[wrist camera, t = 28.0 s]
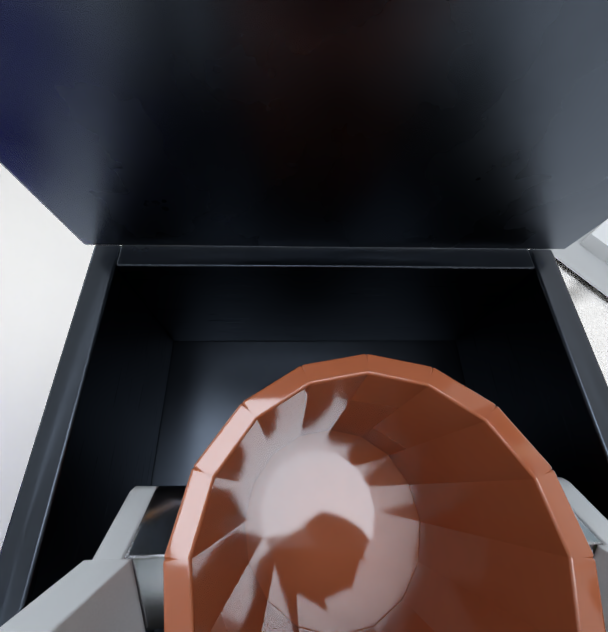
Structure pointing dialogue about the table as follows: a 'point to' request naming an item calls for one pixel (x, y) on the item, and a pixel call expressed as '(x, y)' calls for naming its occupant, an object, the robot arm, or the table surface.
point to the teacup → (375, 514)
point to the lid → (310, 120)
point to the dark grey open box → (282, 368)
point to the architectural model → (589, 257)
